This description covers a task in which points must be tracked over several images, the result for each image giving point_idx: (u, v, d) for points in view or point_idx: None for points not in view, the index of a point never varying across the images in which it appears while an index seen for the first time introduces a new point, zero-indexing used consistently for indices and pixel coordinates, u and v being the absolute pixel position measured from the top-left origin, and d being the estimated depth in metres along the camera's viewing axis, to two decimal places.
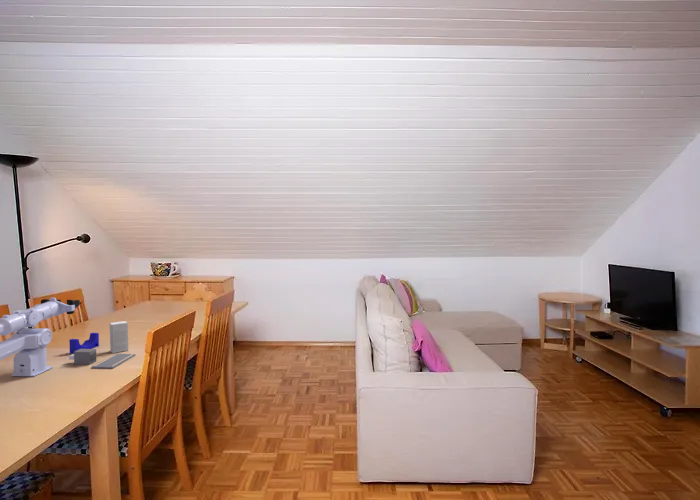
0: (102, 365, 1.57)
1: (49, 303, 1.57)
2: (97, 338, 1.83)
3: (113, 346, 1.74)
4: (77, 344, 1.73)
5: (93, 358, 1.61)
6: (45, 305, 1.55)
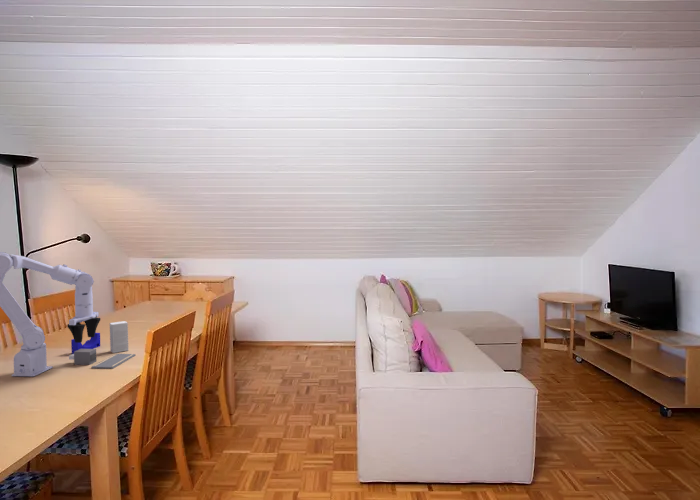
0: (102, 365, 1.57)
1: (89, 308, 1.59)
2: (98, 338, 1.83)
3: (113, 346, 1.74)
4: (79, 344, 1.73)
5: (93, 358, 1.61)
6: (92, 301, 1.61)
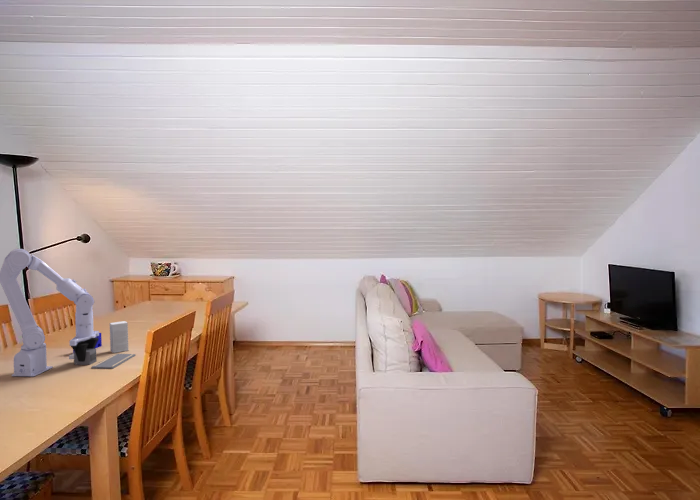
0: (102, 365, 1.57)
1: (89, 328, 1.60)
2: (99, 338, 1.83)
3: (113, 346, 1.74)
4: None
5: (93, 358, 1.61)
6: (92, 321, 1.61)
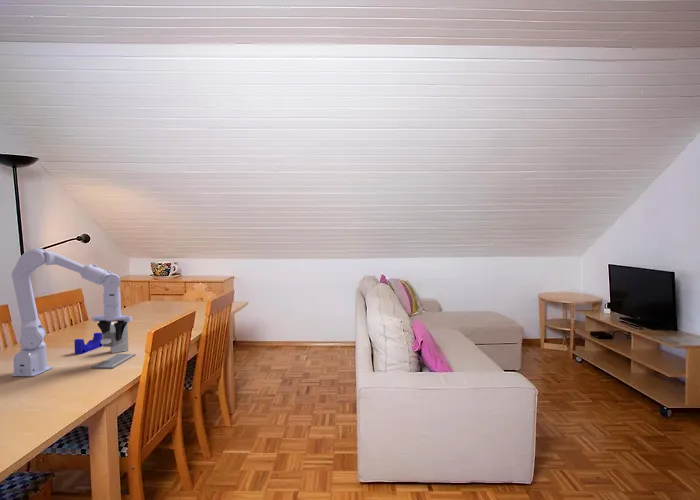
0: (102, 365, 1.57)
1: None
2: (101, 338, 1.83)
3: None
4: (82, 344, 1.73)
5: None
6: (119, 302, 1.62)
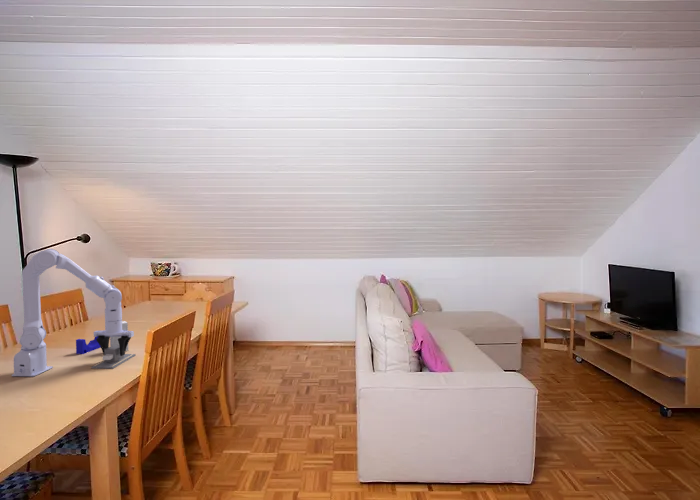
0: (102, 365, 1.57)
1: None
2: None
3: None
4: (84, 344, 1.73)
5: None
6: (120, 318, 1.62)
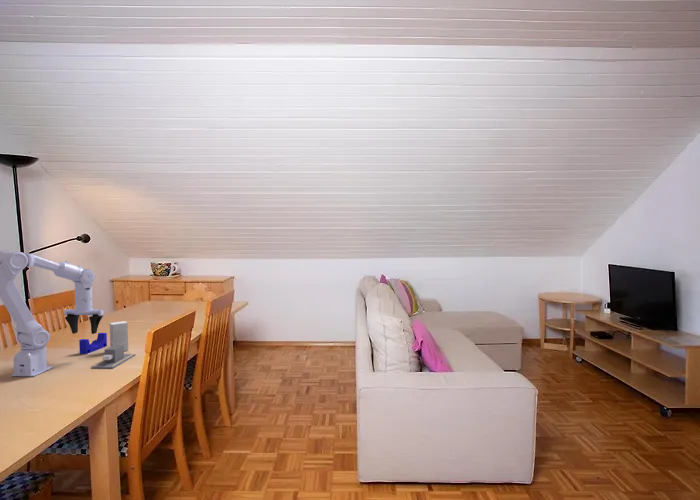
0: (102, 365, 1.57)
1: None
2: (105, 338, 1.83)
3: None
4: (87, 344, 1.73)
5: None
6: None
